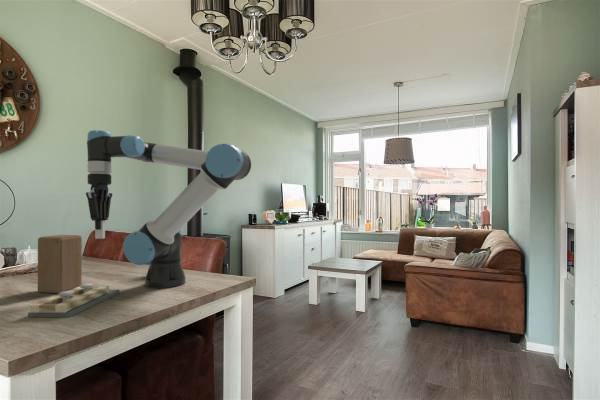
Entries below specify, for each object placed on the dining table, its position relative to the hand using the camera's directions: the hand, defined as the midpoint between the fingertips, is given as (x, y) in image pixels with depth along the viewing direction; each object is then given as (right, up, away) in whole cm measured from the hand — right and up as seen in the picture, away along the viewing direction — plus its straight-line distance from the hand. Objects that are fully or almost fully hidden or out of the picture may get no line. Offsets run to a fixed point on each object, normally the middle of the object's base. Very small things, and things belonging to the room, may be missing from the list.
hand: (100, 238), depth 126 cm
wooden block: (-16, -20, +1) cm, 25 cm away
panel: (+2, -18, -18) cm, 26 cm away
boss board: (+2, -19, -16) cm, 25 cm away
